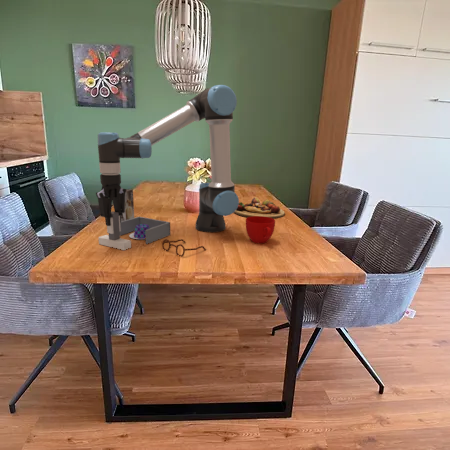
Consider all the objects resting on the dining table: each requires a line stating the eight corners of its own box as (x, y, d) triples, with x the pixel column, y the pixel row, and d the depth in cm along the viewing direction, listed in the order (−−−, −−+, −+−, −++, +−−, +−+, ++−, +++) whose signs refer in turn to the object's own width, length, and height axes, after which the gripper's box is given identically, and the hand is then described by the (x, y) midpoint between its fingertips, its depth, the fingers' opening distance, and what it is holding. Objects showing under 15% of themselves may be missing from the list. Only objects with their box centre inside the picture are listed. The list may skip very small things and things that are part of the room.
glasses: (161, 250, 130) (161, 238, 128) (185, 243, 139) (185, 232, 138) (183, 259, 121) (183, 246, 120) (207, 250, 131) (207, 239, 130)
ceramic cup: (254, 249, 132) (255, 226, 130) (240, 237, 148) (241, 216, 145) (282, 247, 136) (284, 225, 133) (266, 236, 152) (268, 215, 149)
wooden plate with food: (234, 219, 182) (235, 204, 179) (231, 206, 212) (231, 194, 210) (289, 221, 184) (291, 207, 181) (278, 208, 214) (279, 196, 212)
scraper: (131, 247, 130) (129, 214, 126) (123, 250, 126) (122, 216, 123) (106, 241, 136) (104, 209, 132) (98, 244, 133) (96, 211, 129)
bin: (170, 234, 148) (170, 222, 147) (147, 244, 135) (146, 230, 133) (139, 228, 157) (139, 216, 155) (115, 236, 143) (114, 223, 141)
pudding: (124, 235, 146) (124, 224, 145) (149, 231, 154) (148, 220, 152) (135, 242, 137) (135, 230, 136) (161, 237, 145) (160, 226, 143)
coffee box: (123, 217, 175) (122, 188, 171) (134, 218, 174) (133, 189, 170) (115, 222, 166) (113, 191, 162) (126, 223, 165) (124, 192, 161)
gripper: (119, 171, 132) (122, 226, 138) (86, 174, 118) (91, 235, 124) (132, 172, 129) (135, 228, 135) (100, 176, 115) (105, 238, 121)
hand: (114, 231), depth 130 cm, fingers closed on scraper, 3 cm apart
